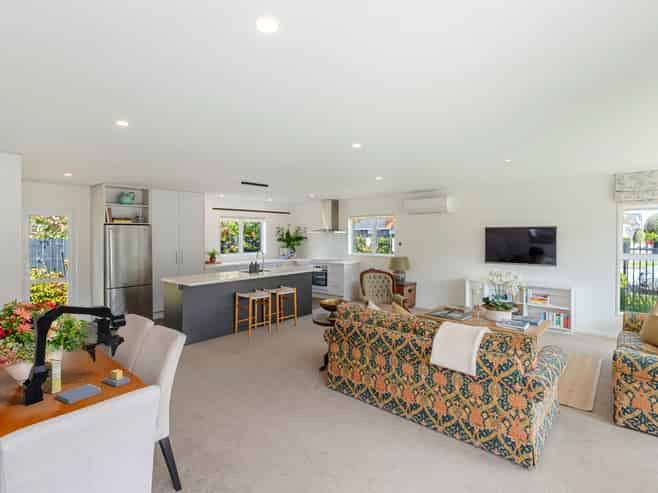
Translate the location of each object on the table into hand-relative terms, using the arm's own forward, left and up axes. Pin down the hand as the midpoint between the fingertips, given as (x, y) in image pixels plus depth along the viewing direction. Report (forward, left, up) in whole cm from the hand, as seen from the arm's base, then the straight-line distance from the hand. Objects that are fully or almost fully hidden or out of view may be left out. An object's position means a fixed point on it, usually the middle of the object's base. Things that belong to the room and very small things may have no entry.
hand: (103, 359), depth 184 cm
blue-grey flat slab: (-15, -7, -12) cm, 20 cm away
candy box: (-19, +11, -12) cm, 25 cm away
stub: (+3, -7, -12) cm, 14 cm away
